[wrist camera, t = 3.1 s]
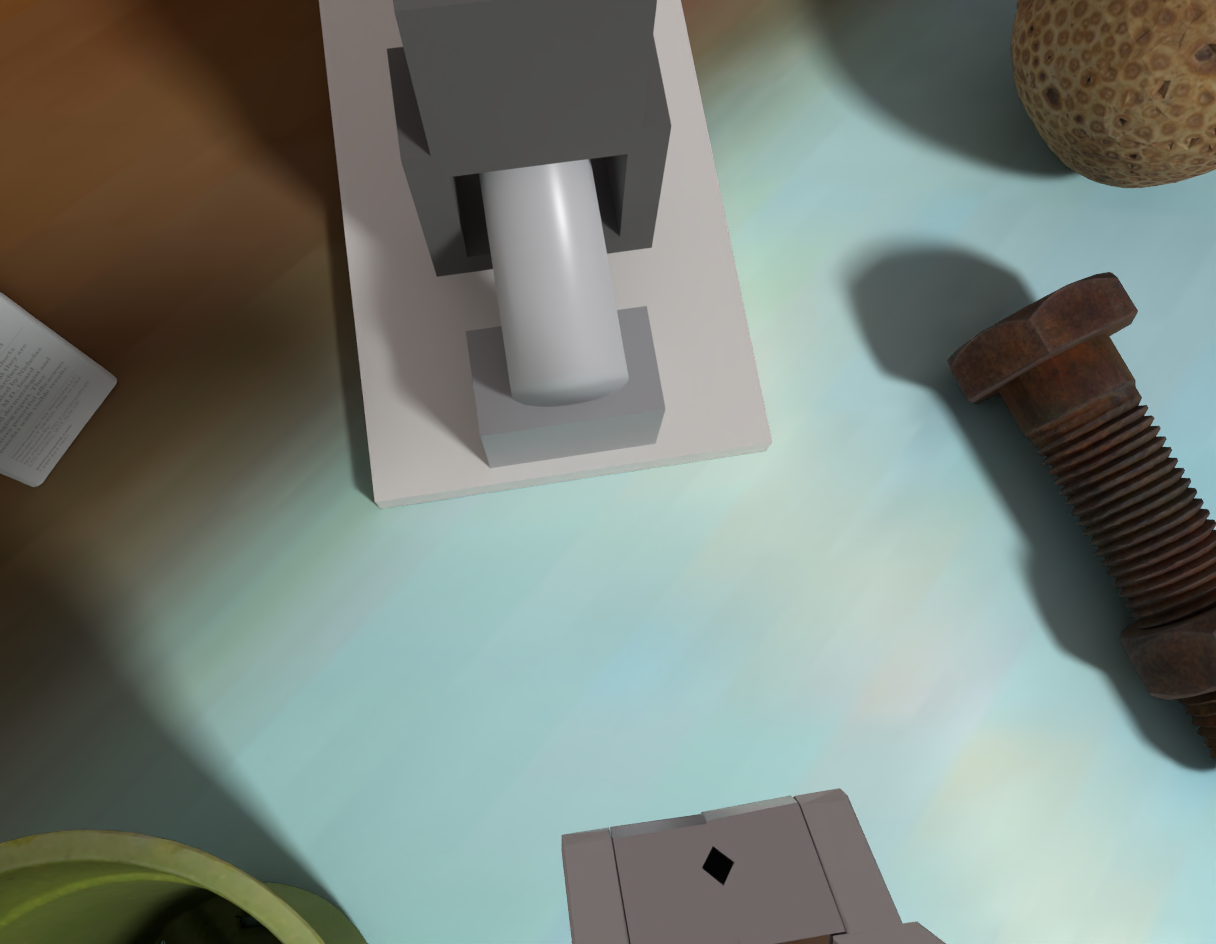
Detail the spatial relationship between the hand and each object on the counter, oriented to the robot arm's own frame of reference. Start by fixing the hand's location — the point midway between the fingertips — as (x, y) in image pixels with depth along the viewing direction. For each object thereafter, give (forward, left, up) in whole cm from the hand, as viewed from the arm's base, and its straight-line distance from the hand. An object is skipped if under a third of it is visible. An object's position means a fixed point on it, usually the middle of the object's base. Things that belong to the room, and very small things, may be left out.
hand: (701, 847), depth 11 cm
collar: (0, +16, -16) cm, 23 cm away
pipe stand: (0, +22, -19) cm, 29 cm away
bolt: (+16, +4, -20) cm, 26 cm away
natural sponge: (+19, +18, -20) cm, 33 cm away
